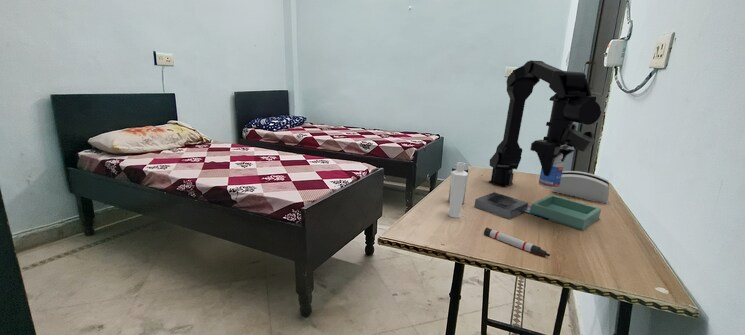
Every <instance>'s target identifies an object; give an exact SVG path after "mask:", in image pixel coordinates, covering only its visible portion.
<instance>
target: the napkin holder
mask: <svg viewBox="0 0 745 335" xmlns="http://www.w3.org/2000/svg"><path fill="white" fill-rule="evenodd" d="M551 191H552V192H551V193H554V192H557V193H556V194H559V193H562V194H561V195H564V194H567V195H566V196H569V195H570V196H569V197H573V196H575V197H574V198H578V197H580V198H579V199H583V198H584V200H589V201H593V202H598V203H603V204H608V201H609V195H610V193H609V192H610V181H609V179H606V178H604V177H601V176H600V175H597V174H594V173H591V172H584V171H578V170H564V171H562V176H561V181H560V186H559V188H556V189H552V190H551Z"/></svg>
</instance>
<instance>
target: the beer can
mask: <svg viewBox="0 0 745 335" xmlns="http://www.w3.org/2000/svg"><path fill="white" fill-rule="evenodd" d="M457 163H458V162H456V163H454V164H453V165H452V167H451V172H452V171H455V170H457ZM464 171H466V172H467V173H468V174H469V167H468V164H466V163H465V165H464ZM467 183H468V182H467ZM467 183H466V186H467ZM450 188H451V181H450V184H449V189H450ZM448 191H449V194H448V202H450V190H448ZM466 191H467V187H466V188H465V193H464V198H463V202H462V204H464V203H465V199H466Z"/></svg>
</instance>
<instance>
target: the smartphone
mask: <svg viewBox="0 0 745 335" xmlns="http://www.w3.org/2000/svg"><path fill="white" fill-rule="evenodd" d="M500 205H503V204H500ZM503 206H506V205H503ZM506 207H507V206H506ZM530 209H531V205H530V204H528V208H527V210H525V211H524V212H523V213H522V214H527V215H530V216H532V217H537V218H539V219H541V220H542V219H543V220H545V221H550V220H549V219H548V218H545V217H542V216H539V215H536V214H533V213H530Z"/></svg>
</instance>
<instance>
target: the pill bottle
mask: <svg viewBox="0 0 745 335" xmlns="http://www.w3.org/2000/svg"><path fill="white" fill-rule="evenodd" d="M560 154H561V155H560V156H558V157H557V158H555V160H554V163H553V166H552V169H551V172H550V174H549V176H545V175H544V173H543V169H542V167H541V170H540V173H539V178H538V185H539V186H540V187H543V188H545V189H546V188H547V189H556V188H559V186H560V181H561V176H562V171H563V170H564V162H562V161H561V159H562V158H563V154H562V153H560Z"/></svg>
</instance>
